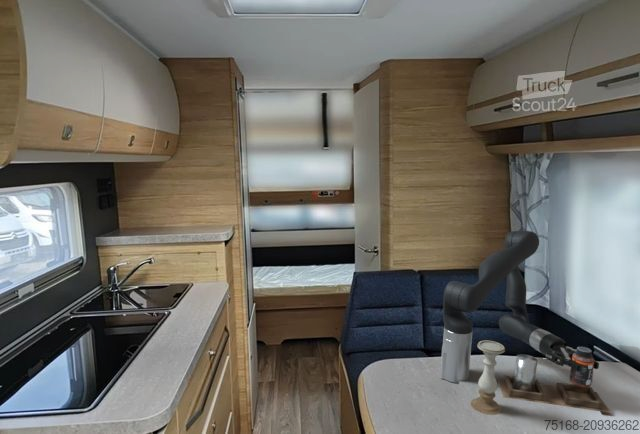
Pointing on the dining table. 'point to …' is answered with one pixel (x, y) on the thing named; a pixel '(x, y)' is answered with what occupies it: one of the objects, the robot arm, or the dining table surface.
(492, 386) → the candle holder
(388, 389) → the dining table surface
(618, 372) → the dining table surface
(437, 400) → the dining table surface
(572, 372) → the supplement bottle
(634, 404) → the dining table surface
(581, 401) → the wooden divided tray
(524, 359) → the can
